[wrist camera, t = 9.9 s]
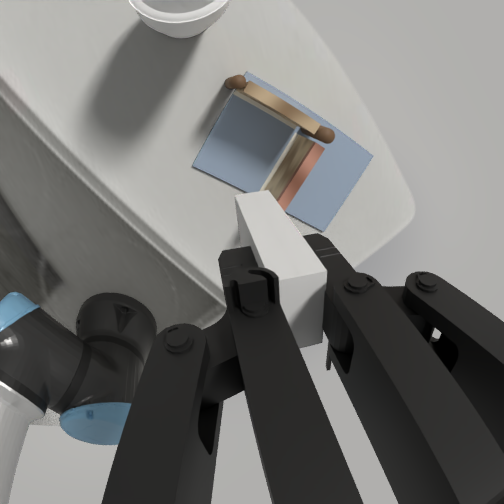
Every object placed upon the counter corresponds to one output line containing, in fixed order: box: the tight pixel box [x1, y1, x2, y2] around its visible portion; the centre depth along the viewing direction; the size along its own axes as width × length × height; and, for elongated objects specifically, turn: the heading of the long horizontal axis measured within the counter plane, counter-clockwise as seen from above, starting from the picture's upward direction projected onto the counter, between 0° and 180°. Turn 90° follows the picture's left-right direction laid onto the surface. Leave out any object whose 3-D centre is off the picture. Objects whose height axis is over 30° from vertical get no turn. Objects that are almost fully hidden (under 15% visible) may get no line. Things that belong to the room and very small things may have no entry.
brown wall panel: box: [225, 75, 335, 144], centre depth 36 cm, size 14×2×8 cm, turn 60°
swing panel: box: [264, 135, 325, 212], centre depth 41 cm, size 12×2×7 cm, turn 149°
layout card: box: [192, 72, 373, 232], centre depth 44 cm, size 24×15×1 cm, turn 60°
